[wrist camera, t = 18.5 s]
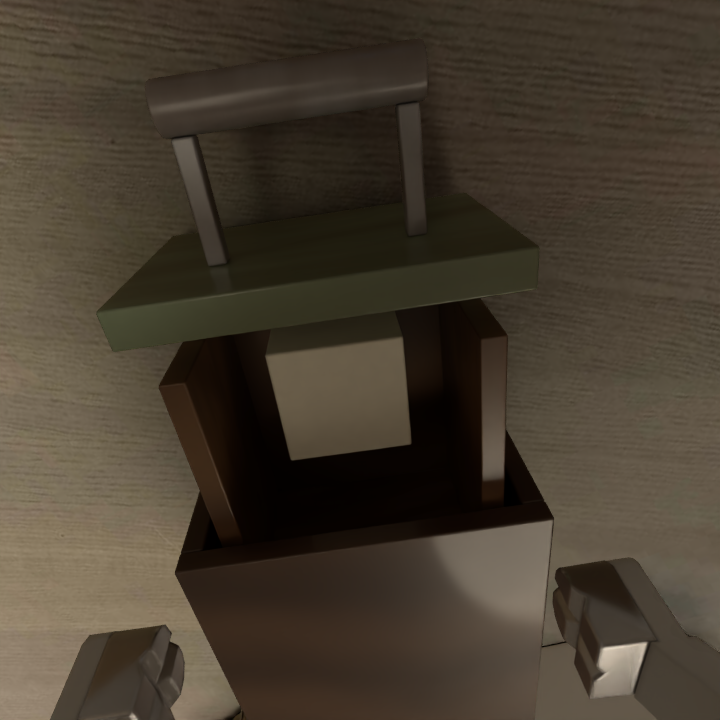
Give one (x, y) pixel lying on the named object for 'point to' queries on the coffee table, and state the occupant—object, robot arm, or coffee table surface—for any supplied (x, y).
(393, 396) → the block
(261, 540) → the drawer
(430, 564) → the cabinet
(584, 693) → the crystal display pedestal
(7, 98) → the coffee table surface
